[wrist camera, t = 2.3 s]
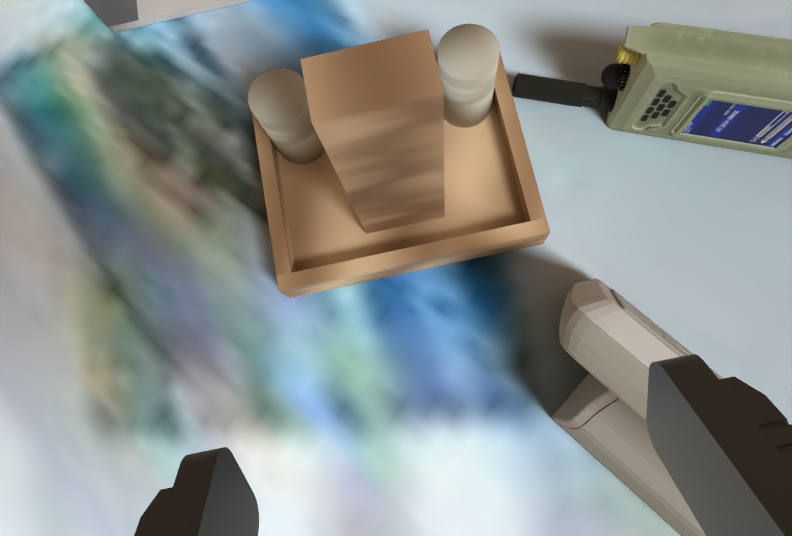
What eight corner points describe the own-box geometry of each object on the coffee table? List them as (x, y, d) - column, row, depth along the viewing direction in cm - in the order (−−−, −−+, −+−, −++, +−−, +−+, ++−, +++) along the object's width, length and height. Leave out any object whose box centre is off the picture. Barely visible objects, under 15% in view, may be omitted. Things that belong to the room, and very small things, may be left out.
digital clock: (855, 508, 26) (1119, 582, 16) (708, 625, 26) (884, 780, 15) (626, 246, 30) (720, 168, 20) (494, 343, 30) (519, 316, 19)
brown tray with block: (291, 298, 31) (171, 223, 18) (263, 122, 34) (141, -61, 20) (542, 244, 31) (619, 124, 17) (494, 70, 33) (527, -154, 20)
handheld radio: (976, 200, 29) (505, 123, 32) (974, 144, 30) (514, 74, 33) (1128, 138, 23) (521, 50, 26) (1120, 70, 24) (532, -8, 27)
